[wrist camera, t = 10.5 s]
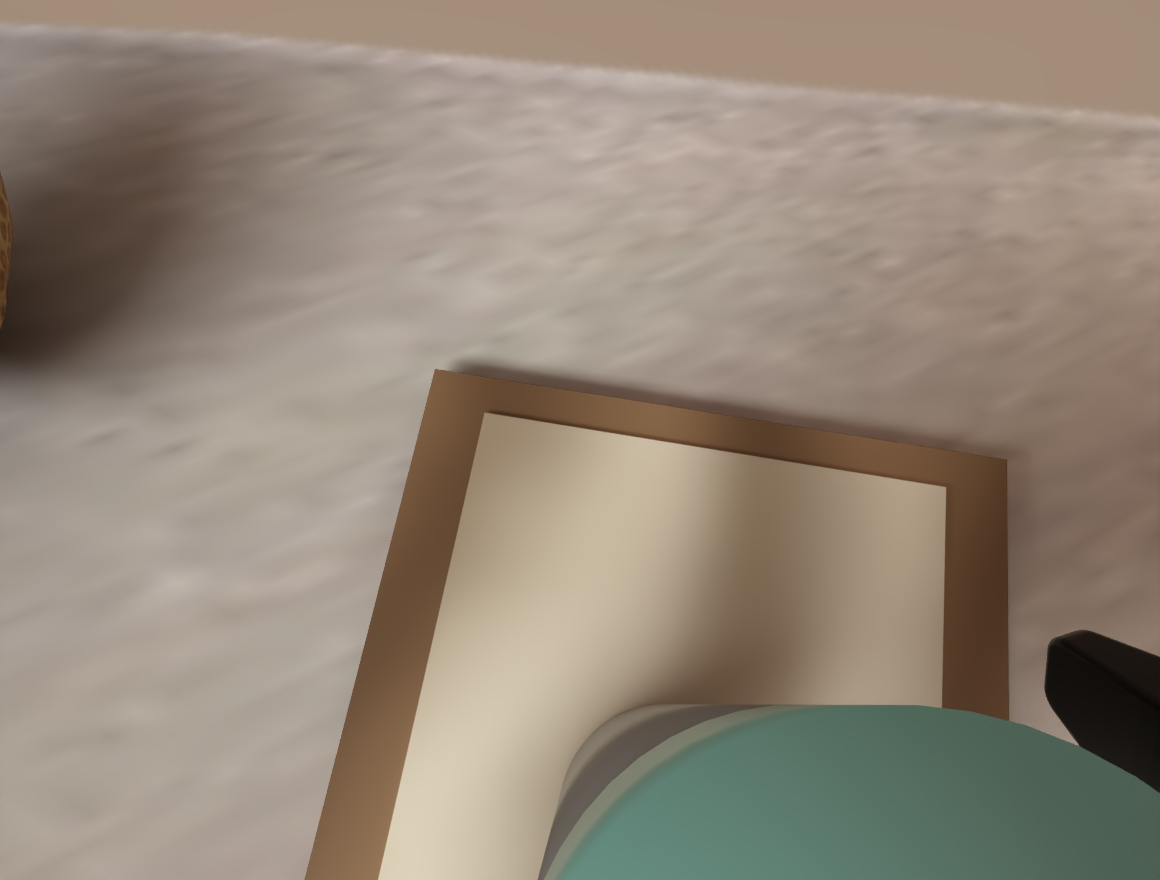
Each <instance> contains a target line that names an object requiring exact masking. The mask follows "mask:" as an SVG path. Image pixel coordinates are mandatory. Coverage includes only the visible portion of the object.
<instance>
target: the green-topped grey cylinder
mask: <svg viewBox="0 0 1160 880" xmlns="http://www.w3.org/2000/svg"><path fill="white" fill-rule="evenodd" d="M538 880H1160V793H1159V792H1157V791H1156V790H1154V789H1153V788H1152V787H1150V786H1149V785H1147V784H1146V783H1144V782H1143V781H1141V780H1140V779H1138V778H1137V777H1136V776H1134V775H1132V774H1130V773H1128V772H1126V771H1124V770H1123V769H1121V768H1119V767H1117V766H1115V765H1113V764H1111V763H1110V762H1108V761H1106V760H1104V759H1102V758H1100V757H1098V756H1096V755H1095V754H1093V753H1091V752H1089V751H1087V750H1085V749H1083V748H1082V747H1079V746H1077V745H1074V744H1072V743H1069V742H1066V741H1064V740H1061V739H1059V738H1056V737H1054V736H1051V735H1049V734H1046V733H1044V732H1041V731H1039V730H1036V729H1034V728H1031V727H1028V726H1026V725H1022V724H1018V723H1014V722H1010V721H1006V720H1002V719H998V718H995V717H991V716H987V715H983V714H979V713H975V712H971V711H963V710H954V709H946V708H938V707H930V706H922V705H749V704H654V705H647V706H641V707H637V708H634V709H631V710H627V711H625V712H623V713H621V714H619V715H616V716H615V717H613V718H611V719H610V720H608V721H607V722H605V723H604V724H602V725H601V726H600V727H599V728H598V729H596V730H595V731H594V732H593V733H592V734H591V735H590V736H589V737H588V739H587V740H586V741H585V742H584V743H583V744H582V746H581V747H580V749H579V750H578V752H577V753H576V754H575V756H574V758H573V760H572V762H571V764H570V766H569V768H568V770H567V773H566V776H565V778H564V781H563V785H562V788H561V792H560V796H559V800H558V804H557V808H556V811H555V815H554V819H553V823H552V827H551V830H550V834H549V838H548V842H547V846H546V850H545V853H544V857H543V861H542V865H541V869H540V873H539V876H538Z"/></svg>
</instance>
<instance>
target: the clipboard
mask: <svg viewBox="0 0 1160 880" xmlns="http://www.w3.org/2000/svg"><path fill="white" fill-rule="evenodd" d="M654 704H749V705H922V706H930V707H938V708H946V709H954V710H963V711H971V712H975V713H979V714H983V715H987V716H991V717H995V718H998V719H1002V720H1006V721H1009V684H1008V550H1007V460H1005V459H998V458H992V457H986V456H979V455H973V454H967V453H961V452H954V451H948V450H942V449H935V448H929V447H923V446H916V445H910V444H904V443H898V442H891V441H885V440H879V439H872V438H866V437H860V436H853V435H847V434H841V433H835V432H828V431H822V430H816V429H809V428H803V427H797V426H791V425H784V424H778V423H772V422H765V421H759V420H753V419H746V418H740V417H734V416H728V415H721V414H715V413H709V412H702V411H696V410H690V409H684V408H677V407H671V406H665V405H658V404H652V403H646V402H639V401H633V400H627V399H621V398H614V397H608V396H602V395H595V394H589V393H583V392H576V391H570V390H564V389H558V388H551V387H545V386H539V385H532V384H526V383H520V382H514V381H507V380H501V379H495V378H488V377H482V376H476V375H469V374H463V373H457V372H451V371H444V370H438V369H435V371H434V375H433V379H432V383H431V387H430V391H429V395H428V399H427V403H426V407H425V411H424V415H423V418H422V422H421V426H420V430H419V434H418V438H417V442H416V446H415V450H414V454H413V458H412V461H411V465H410V469H409V473H408V477H407V481H406V485H405V489H404V493H403V497H402V501H401V505H400V508H399V512H398V516H397V520H396V524H395V528H394V532H393V536H392V540H391V544H390V548H389V551H388V555H387V559H386V563H385V567H384V571H383V575H382V579H381V583H380V587H379V591H378V595H377V598H376V602H375V606H374V610H373V614H372V618H371V622H370V626H369V630H368V634H367V638H366V641H365V645H364V649H363V653H362V657H361V661H360V665H359V669H358V673H357V677H356V681H355V685H354V688H353V692H352V696H351V700H350V704H349V708H348V712H347V716H346V720H345V724H344V728H343V731H342V735H341V739H340V743H339V747H338V751H337V755H336V759H335V763H334V767H333V771H332V775H331V778H330V782H329V786H328V790H327V794H326V798H325V802H324V806H323V810H322V814H321V818H320V821H319V825H318V829H317V833H316V837H315V841H314V845H313V849H312V853H311V857H310V861H309V864H308V868H307V872H306V876H305V880H538V876H539V873H540V869H541V865H542V861H543V857H544V853H545V850H546V846H547V842H548V838H549V834H550V830H551V827H552V823H553V819H554V815H555V811H556V808H557V804H558V800H559V796H560V792H561V788H562V785H563V781H564V778H565V776H566V773H567V770H568V768H569V766H570V764H571V762H572V760H573V758H574V756H575V754H576V753H577V752H578V750H579V749H580V747H581V746H582V744H583V743H584V742H585V741H586V740H587V739H588V737H589V736H590V735H591V734H592V733H593V732H594V731H595V730H596V729H598V728H599V727H600V726H601V725H602V724H604V723H605V722H607V721H608V720H610V719H611V718H613V717H615V716H616V715H619V714H621V713H623V712H625V711H627V710H631V709H634V708H637V707H641V706H647V705H654Z"/></svg>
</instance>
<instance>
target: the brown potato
mask: <svg viewBox="0 0 1160 880" xmlns="http://www.w3.org/2000/svg"><path fill="white" fill-rule="evenodd" d="M12 243H13V229H12V219H11V213H10V207H9V203H8V200H7V196H6V192H5V188H4V184H3V180H2V176H1V173H0V329H1V326H2V322H3V319H4V316H5V311H6V299H7V291H8V278H9V271H10V258H11V250H12Z"/></svg>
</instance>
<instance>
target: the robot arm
mask: <svg viewBox="0 0 1160 880" xmlns="http://www.w3.org/2000/svg"><path fill="white" fill-rule="evenodd" d="M1045 693H1046V697H1047V700H1048V702H1049V704H1050V706H1051V708H1052V709H1053V711H1054V712H1055V713H1056V715H1057V716H1058V717H1059V719H1060V720H1061V722H1062V723H1063V724H1064V726H1065V727H1066V728H1067V730H1068V731H1069V732H1070V734H1071V735H1072V736H1073V738H1074V739H1075V740H1076V742H1077V743H1078V745H1079V746H1080V747H1082V748H1083V749H1085V750H1087V751H1089V752H1091V753H1093V754H1095V755H1096V756H1098V757H1100V758H1102V759H1104V760H1106V761H1108V762H1110V763H1111V764H1113V765H1115V766H1117V767H1119V768H1121V769H1123V770H1124V771H1126V772H1128V773H1130V774H1132V775H1134V776H1136V777H1137V778H1138V779H1140V780H1141V781H1143V782H1144V783H1146V784H1147V785H1149V786H1150V787H1152V788H1153V789H1154V790H1156V791H1157V792H1159V793H1160V657H1159V656H1156V655H1154V654H1151V653H1148V652H1146V651H1143V650H1140V649H1138V648H1135V647H1132V646H1130V645H1127V644H1124V643H1122V642H1119V641H1116V640H1114V639H1111V638H1108V637H1106V636H1103V635H1100V634H1098V633H1095V632H1092V631H1087V630H1078V631H1074V632H1071V633H1068V634H1065V635H1062V636H1059V637H1056V638H1054V639H1052V640H1051V642H1050V643H1049V645H1048V651H1047V662H1046V674H1045Z"/></svg>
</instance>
